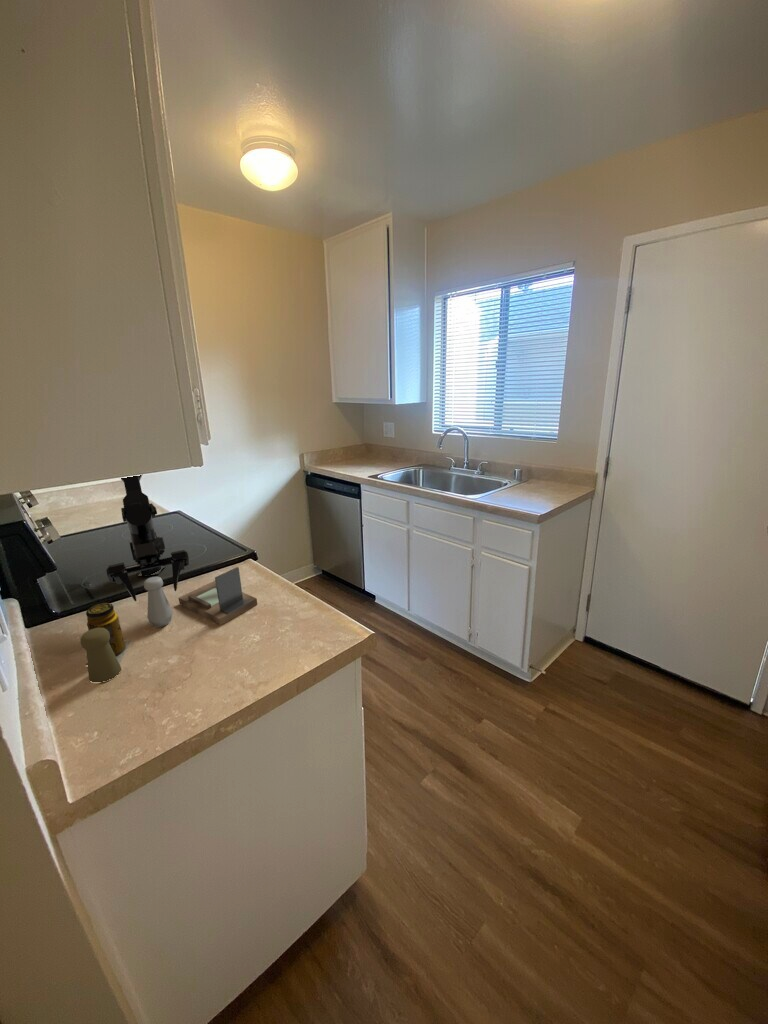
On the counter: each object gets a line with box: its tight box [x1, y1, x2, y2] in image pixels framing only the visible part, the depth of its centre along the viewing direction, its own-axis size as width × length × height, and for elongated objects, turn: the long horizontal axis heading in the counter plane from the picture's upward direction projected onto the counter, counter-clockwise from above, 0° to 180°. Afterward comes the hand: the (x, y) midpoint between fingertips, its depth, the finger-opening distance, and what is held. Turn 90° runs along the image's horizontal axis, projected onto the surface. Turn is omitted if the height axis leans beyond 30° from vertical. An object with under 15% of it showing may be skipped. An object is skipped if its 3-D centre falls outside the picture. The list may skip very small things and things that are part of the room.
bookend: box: [214, 566, 250, 614], centre depth 111 cm, size 3×7×10 cm, turn 146°
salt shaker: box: [143, 576, 173, 628], centre depth 107 cm, size 6×6×13 cm
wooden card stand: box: [178, 580, 258, 626], centre depth 117 cm, size 19×12×3 cm, turn 56°
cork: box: [79, 628, 122, 682], centre depth 89 cm, size 6×6×11 cm
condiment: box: [85, 602, 132, 665], centre depth 95 cm, size 7×8×12 cm
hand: (155, 595), depth 106 cm, fingers open, 9 cm apart
